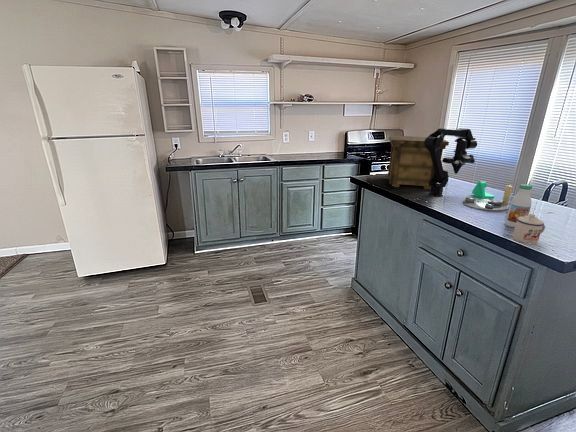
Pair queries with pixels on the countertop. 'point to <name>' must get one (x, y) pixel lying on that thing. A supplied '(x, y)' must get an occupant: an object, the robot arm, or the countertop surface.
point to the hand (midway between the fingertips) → (455, 173)
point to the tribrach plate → (482, 204)
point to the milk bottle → (519, 205)
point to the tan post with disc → (505, 197)
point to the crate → (411, 161)
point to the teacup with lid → (528, 229)
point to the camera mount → (481, 191)
